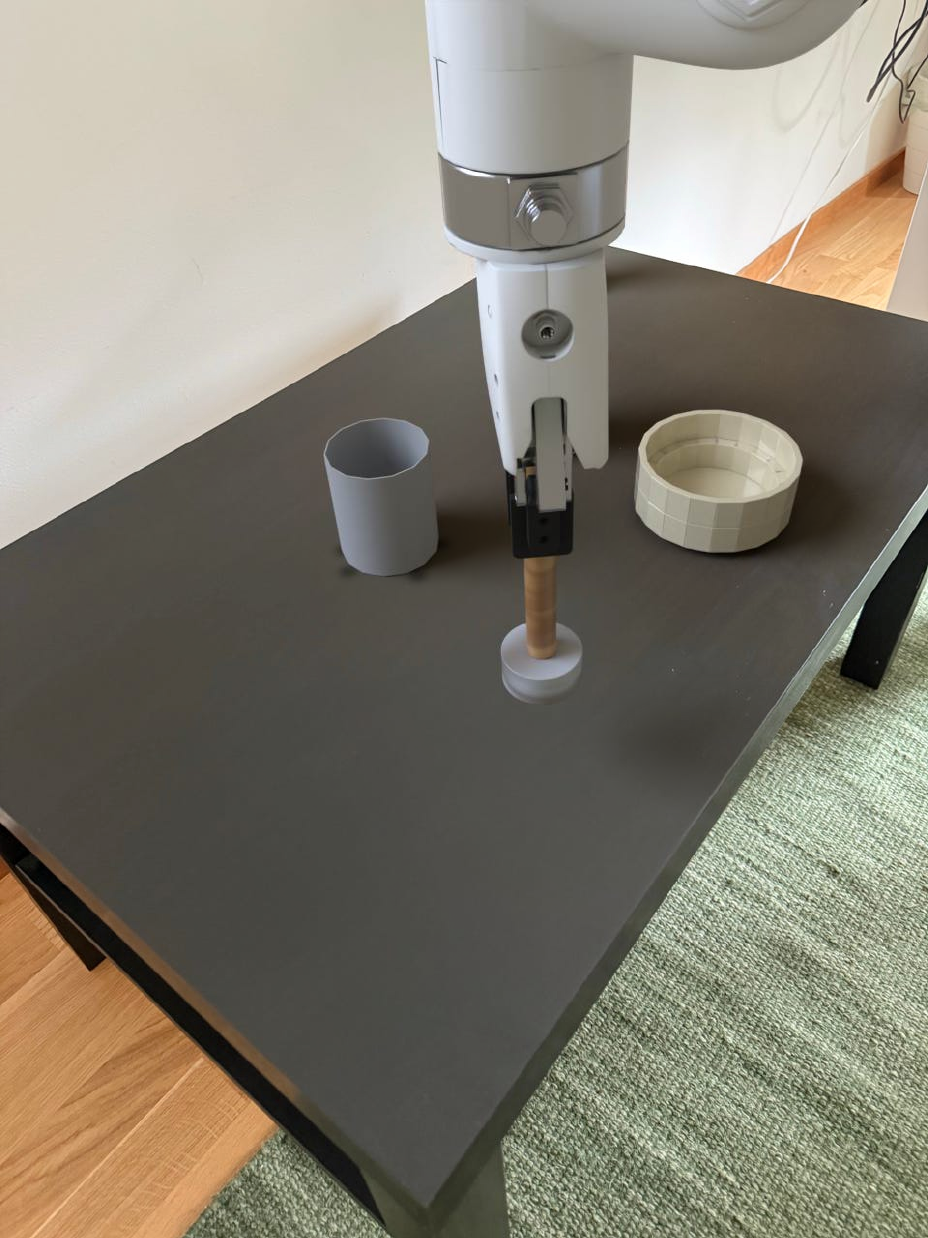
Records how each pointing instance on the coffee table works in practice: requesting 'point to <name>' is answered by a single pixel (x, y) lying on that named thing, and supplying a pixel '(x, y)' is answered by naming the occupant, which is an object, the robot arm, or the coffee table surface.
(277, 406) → the coffee table surface
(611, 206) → the robot arm
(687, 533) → the bowl
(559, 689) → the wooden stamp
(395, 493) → the cup
